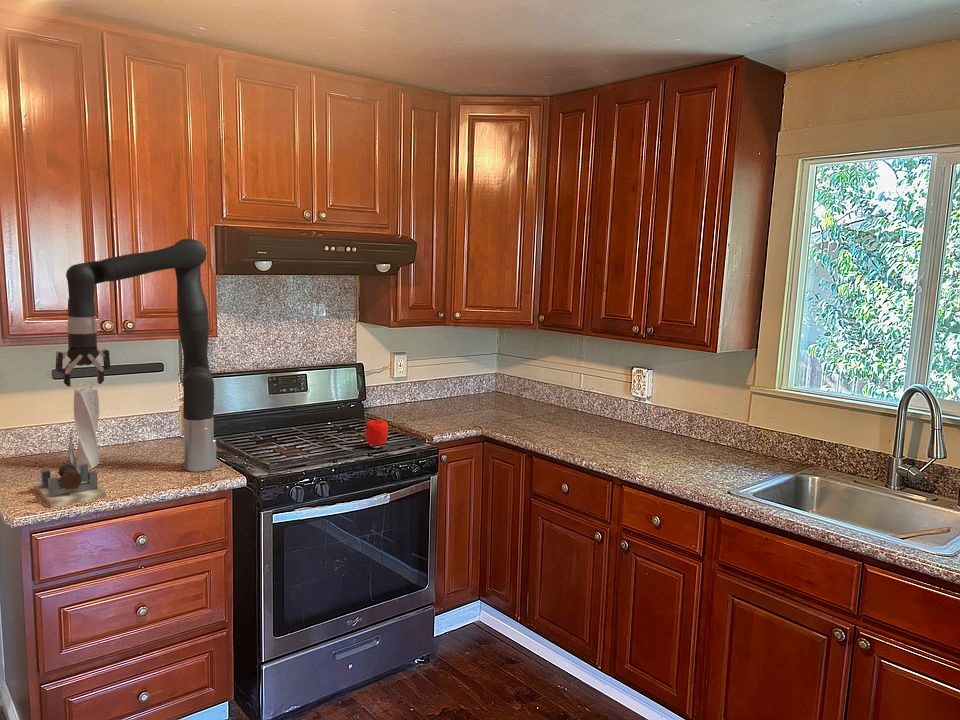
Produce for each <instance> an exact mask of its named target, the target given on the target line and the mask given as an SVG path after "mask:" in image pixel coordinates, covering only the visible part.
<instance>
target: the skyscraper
mask: <svg viewBox="0 0 960 720" xmlns="http://www.w3.org/2000/svg"><path fill="white" fill-rule="evenodd" d="M86 384H91V386H90V387H87V386H86V387H80V386H82V385H86ZM94 384H95V382H94V381H84V382H81V383H79V384H78V385H76V387H75V388H74V390H73V419H74V424H75V429H76V433H77V437H78V439H77V449H76V450H77V452H76V458H75V451H74V449H75V444H73V436H72V431H69V444H68V458H67V459H68V464H73V465H74V466H75V465H76V466H75V467H76V468H77V469H78V471H79V465H81V464H87V465H88V468H93V467H94V466H96V465H98V464H100V463H101V458H100V457H101V455H100V451H99V444H98V439H97V431H98V426H99V419H100V402H99V401H100V399H99V393H98V389H96V388H93V387H94ZM79 387H80V389H78V388H79ZM75 460H76V464H75ZM100 465H101V464H100ZM98 466H99V465H98ZM93 469H94V468H93Z"/></svg>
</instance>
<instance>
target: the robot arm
mask: <svg viewBox="0 0 960 720" xmlns="http://www.w3.org/2000/svg"><path fill="white" fill-rule="evenodd" d="M206 259H207V249H206V247H205V245H204V244H203V243H202V242H200V241H198V240H197V239H194V238H182V239H180V240H178V241H176V242H175V243H174V245H171V246H168V247H165V248H161V249H157V250H152V251H150V250H149V251H144V252H143V251H142V252H136V253H135V252H134V253H129V254H122V255H118V256H111V257H108V258H105V259H102V260H96V261H94V260H93V261H89V262H80V263H76V264H73V265H71V266H70V267H68V269H67V271H66V274H65V278H66V280H67V290H68V300H67V341H68V342H67V345H68V350H67V351H65V352H64V351H56V352H55V353H56V354H55V371H56V372H58V373H61V374H63V384H64V385H65V386H66V387H71V385H72V384H71V374H70V373H71V372H72V370H73V369H74V368H75V367H76V366H85V365H86V366H90V365H93V367H95V369H97V372H96V375H97V376H96V378H97V384H99V385H101V384H103V383H104V381H105V371H106V370H110V369H111V360H110V351H109V350H108V349H106V348H104V349H102V350H101V349H100V350H99V349H98V339H97V337H98V333H97V332H98V331H97V330H98V328H97V320H96V306H95V300H94V299H95V287H96V286H95V285H96V284H102V283H105V282H117V281H121V280H126V279H127V280H128V279H131V278H134V277H138V276H142V275H143V276H144V275H147V274H152V273H154V272H155V273H156V272H159V271H165V270H170V269H171V270H172V269H174V271H175V278H176V308H177V309H176V312H177V313H176V314H177V325H178V333H179V339H180V344H181V348H182V353H183V369H182V372H183V374H182V391H183V392H182V393H183V396H182V397H183V407H182V408H183V411H182V415H183V416H182V417H183V467H184V468H183V469H184V471H188V472H205V471H209V470H212V469H215V468H217V440H216V439H215V437H214V433H215V431H214V427H215V425H214V411H215V382H214V379H213V377H212V374H211V371H210V365H209V359H208V344H209V336H210V331H209V330H210V324H209V323H210V322H209V321H210V320H209V310H208V303H207V300H206V296H205V293H204V290H203V285H202V281H201V280H202V279H201V278H202V277H201V275H202V274H201V267H202V266H201V265H202V264H203V263H205V261H206ZM99 355H100V357H101V358H102V361H103V365H101V364H100V362H98V360H97V358H98V357H99ZM66 357H68V358H69V361H68V362H67V364H66V365H65V367H64V368H63V363H64V362H63V360H65V359H66Z"/></svg>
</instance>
